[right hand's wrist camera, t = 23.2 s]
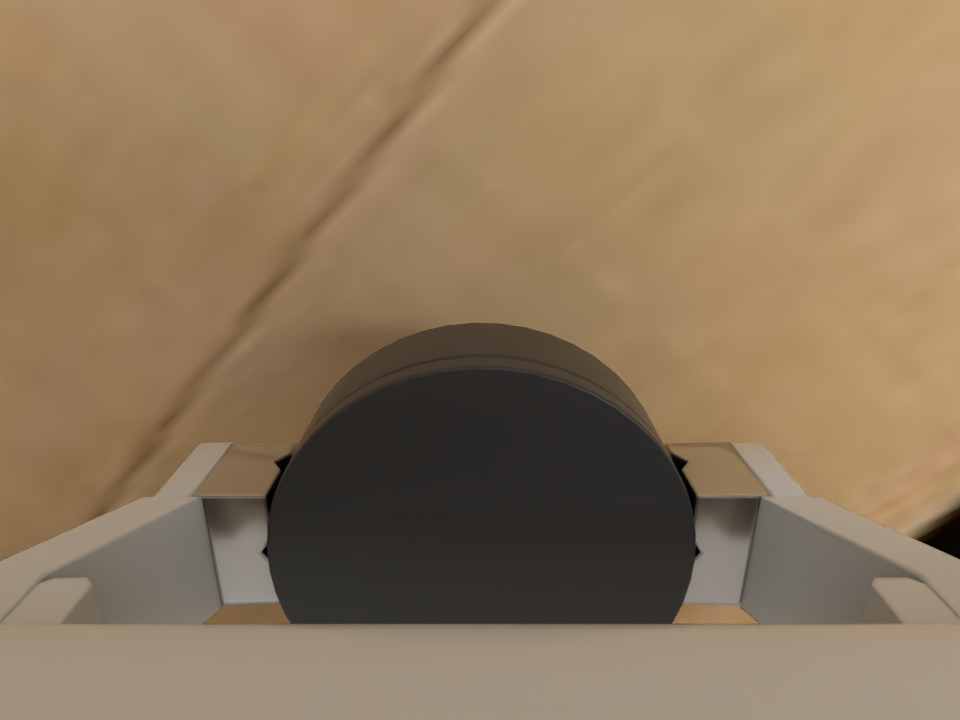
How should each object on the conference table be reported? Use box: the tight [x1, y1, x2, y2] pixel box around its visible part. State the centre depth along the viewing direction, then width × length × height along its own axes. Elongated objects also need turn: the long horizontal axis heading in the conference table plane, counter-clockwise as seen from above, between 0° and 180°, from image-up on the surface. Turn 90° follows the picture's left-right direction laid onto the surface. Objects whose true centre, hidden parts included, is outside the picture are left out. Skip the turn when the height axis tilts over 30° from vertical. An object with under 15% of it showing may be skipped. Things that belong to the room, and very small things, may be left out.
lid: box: [267, 323, 696, 624], centre depth 9 cm, size 6×6×2 cm
